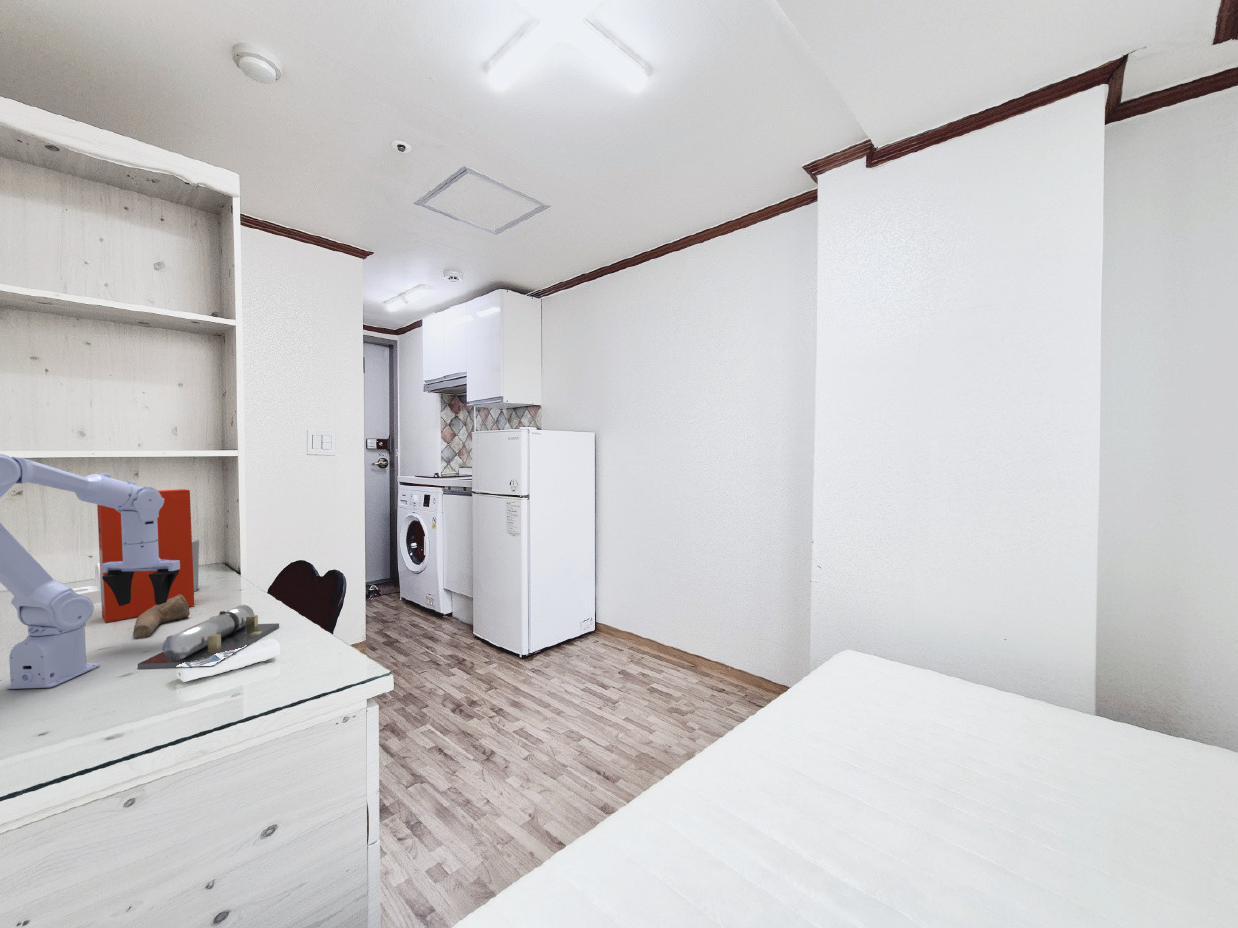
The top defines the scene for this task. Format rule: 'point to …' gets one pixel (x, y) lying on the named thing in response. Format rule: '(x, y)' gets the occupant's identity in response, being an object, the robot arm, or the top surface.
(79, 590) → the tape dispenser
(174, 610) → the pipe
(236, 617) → the silver long rounded block
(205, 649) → the grey plate with pegs
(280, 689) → the top surface
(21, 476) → the robot arm
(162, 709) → the top surface
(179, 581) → the file binder
